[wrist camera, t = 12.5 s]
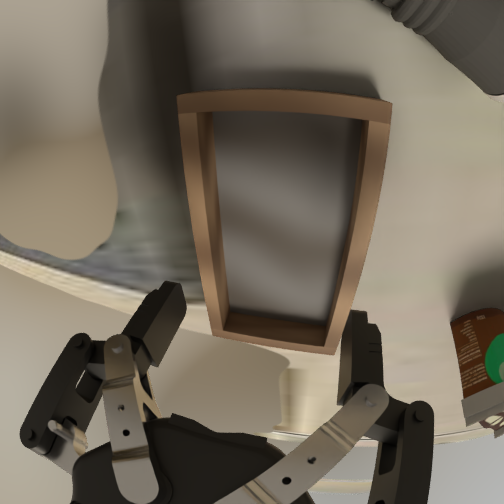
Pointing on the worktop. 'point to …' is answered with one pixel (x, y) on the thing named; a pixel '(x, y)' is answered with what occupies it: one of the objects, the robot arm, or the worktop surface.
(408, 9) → the flashlight
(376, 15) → the worktop surface
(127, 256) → the worktop surface
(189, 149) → the open wooden frame
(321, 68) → the worktop surface
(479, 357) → the food container
